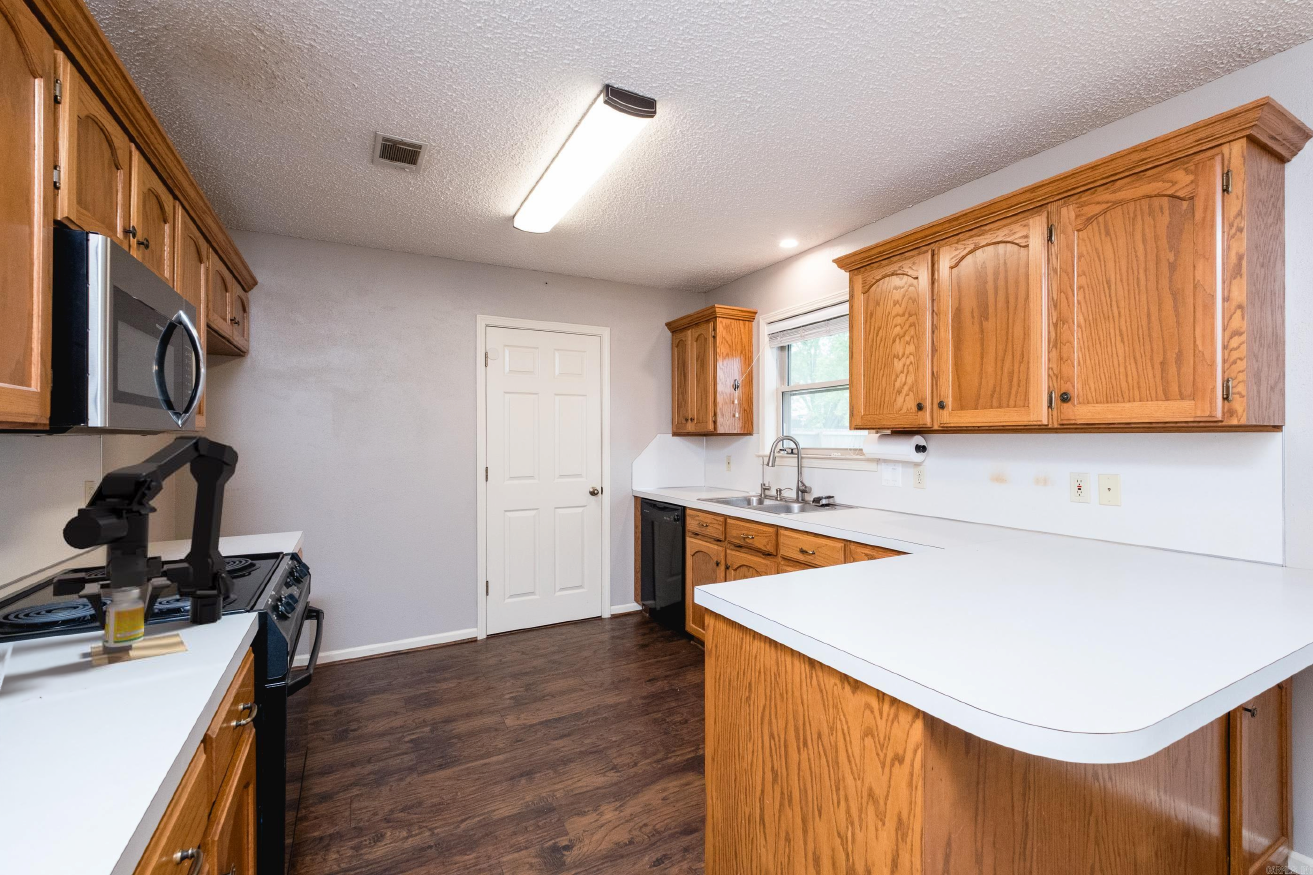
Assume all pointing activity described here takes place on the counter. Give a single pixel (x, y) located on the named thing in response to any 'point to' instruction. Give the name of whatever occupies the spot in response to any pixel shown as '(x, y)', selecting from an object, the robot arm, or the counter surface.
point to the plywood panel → (140, 650)
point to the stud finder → (114, 648)
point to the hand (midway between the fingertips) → (124, 625)
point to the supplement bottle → (124, 618)
